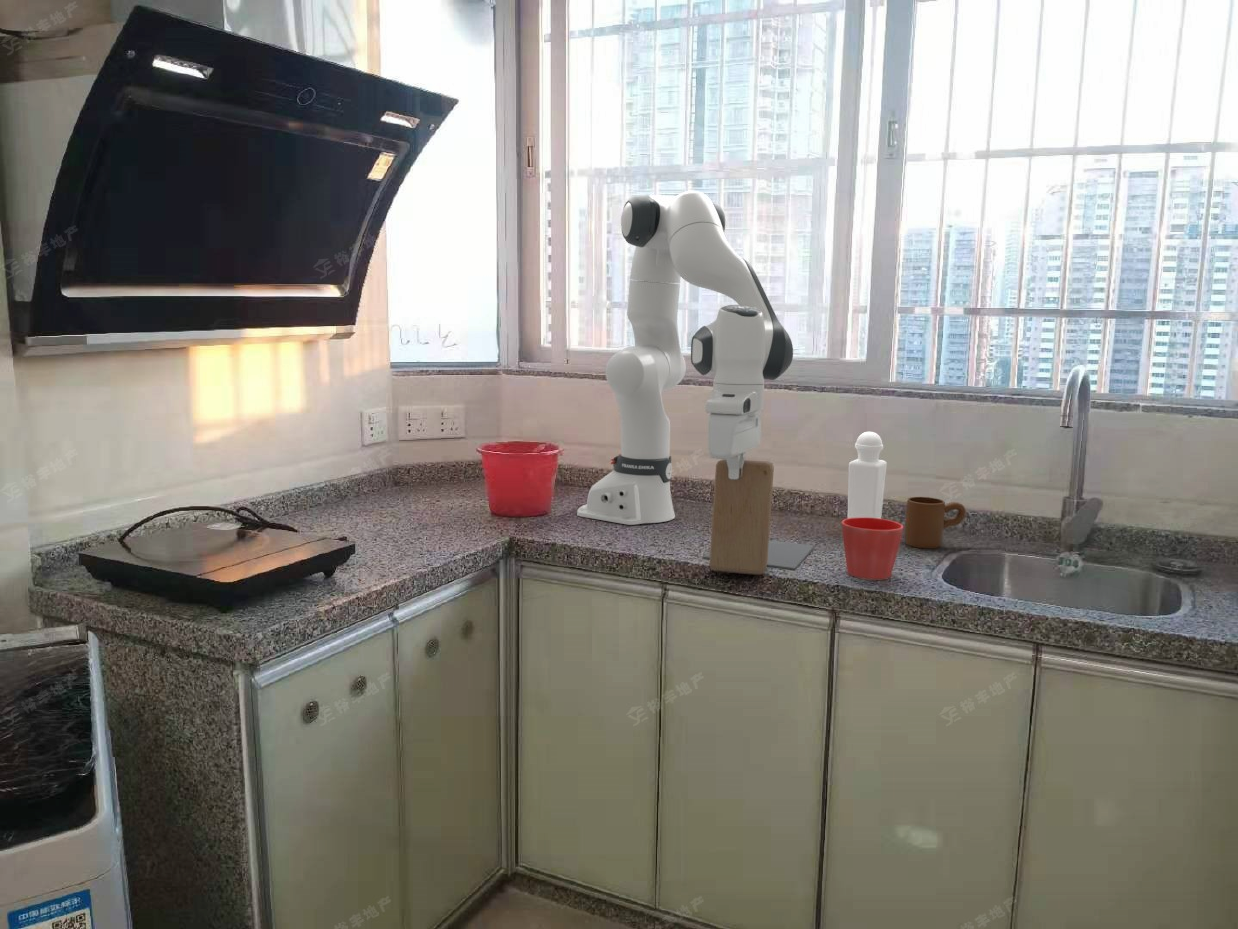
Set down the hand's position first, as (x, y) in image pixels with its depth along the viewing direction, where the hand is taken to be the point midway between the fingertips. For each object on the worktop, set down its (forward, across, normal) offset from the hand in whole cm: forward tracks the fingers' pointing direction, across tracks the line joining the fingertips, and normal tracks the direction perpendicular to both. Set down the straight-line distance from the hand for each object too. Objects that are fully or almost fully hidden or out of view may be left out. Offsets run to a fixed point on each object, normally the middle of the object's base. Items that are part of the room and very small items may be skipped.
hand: (735, 478), depth 167 cm
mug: (+18, -43, +30) cm, 56 cm away
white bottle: (+18, -48, +15) cm, 53 cm away
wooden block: (+18, -5, 0) cm, 18 cm away
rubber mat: (+18, -20, 0) cm, 27 cm away
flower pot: (+19, -15, +22) cm, 32 cm away
